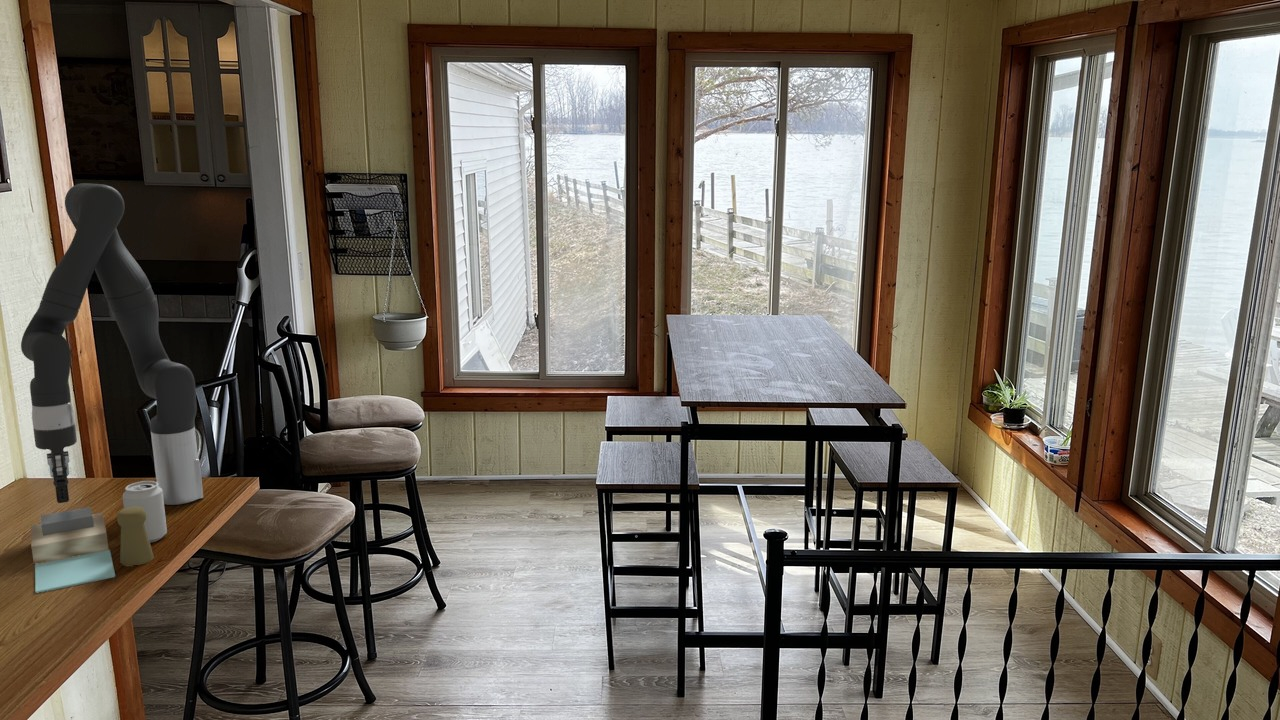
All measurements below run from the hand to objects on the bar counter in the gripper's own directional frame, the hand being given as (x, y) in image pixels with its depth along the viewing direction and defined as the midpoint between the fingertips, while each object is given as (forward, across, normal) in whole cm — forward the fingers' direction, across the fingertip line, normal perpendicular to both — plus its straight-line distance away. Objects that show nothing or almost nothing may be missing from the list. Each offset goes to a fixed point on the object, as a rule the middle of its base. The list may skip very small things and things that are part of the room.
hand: (63, 501), depth 200 cm
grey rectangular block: (+2, -8, 0) cm, 8 cm away
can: (+7, -13, -14) cm, 21 cm away
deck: (+7, -10, 0) cm, 12 cm away
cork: (+7, -24, -11) cm, 28 cm away
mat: (+7, -24, -1) cm, 25 cm away
